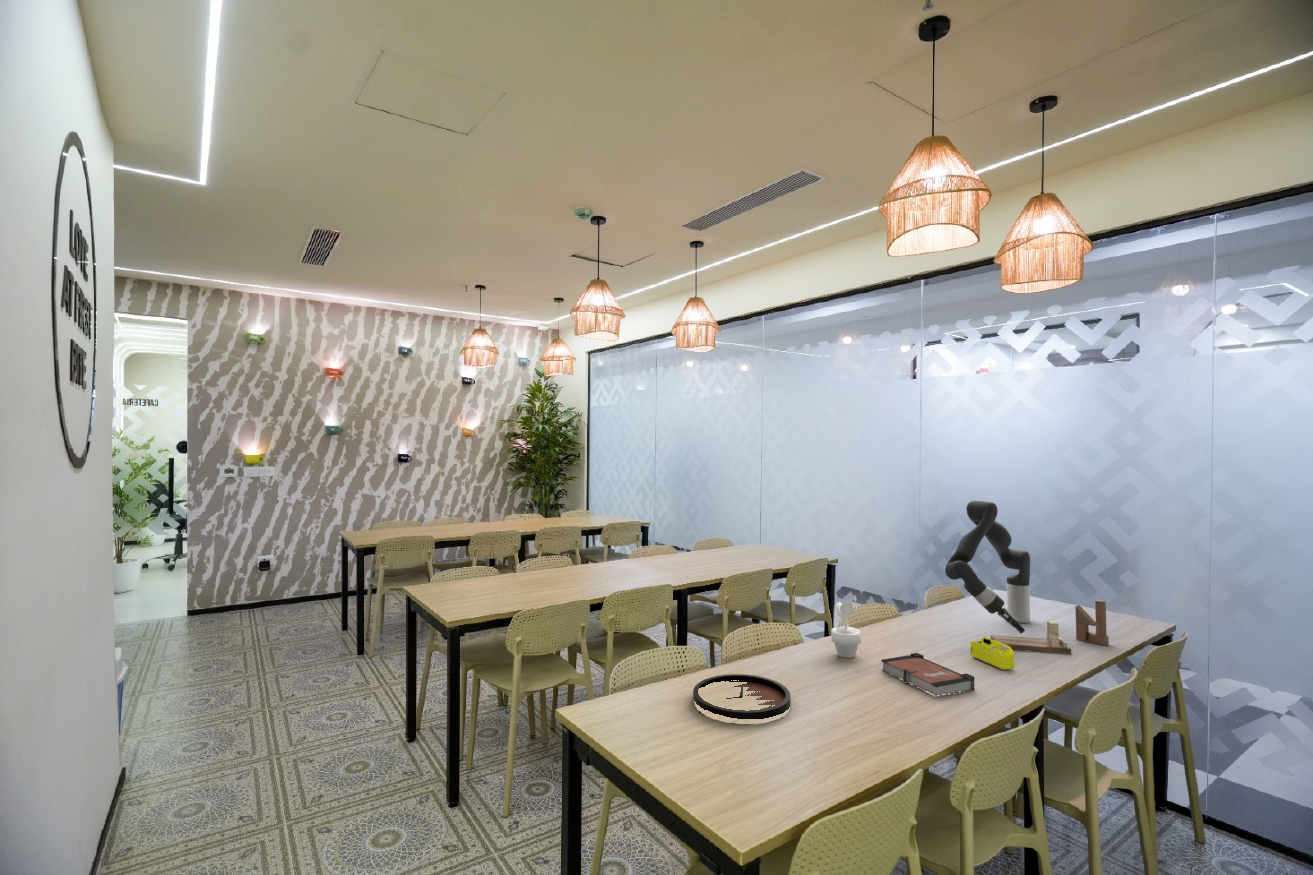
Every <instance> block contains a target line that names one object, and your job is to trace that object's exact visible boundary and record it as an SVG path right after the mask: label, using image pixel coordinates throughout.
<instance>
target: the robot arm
mask: <svg viewBox="0 0 1313 875" xmlns="http://www.w3.org/2000/svg"><path fill="white" fill-rule="evenodd" d="M998 511H999V510H998V507H997V504H996V503H995V502H993V501H986V500H984V501H983V500H971V501H970V502H968V503H967V505H966V515H967V517H968V518H969V520H970V521H971V522H972V523H973V524H974V525H976V526H975V527H974V528H973V529H972V530H970V531H969V532H968V533H966V534H965V535H964V536H963V537H962V538H961V539H960V541H959V542H958V545H957V547H956V549H955V552H954V554H952V556H951V557H950V559H949V560H948V561H947V563H946V565H945V569H944V570H945V571H944V572H945V575H946V577H947V578H949V579H950V580H953V581H954V580H959V579H961V580H962V581H963V582H964V584H963V588H964V589H965V590H966V591H967V592H968V593H969V594H970V595H971V596H972V597H973V598H974V599H975V601H977V603H979V604H980V606H982V607H983V608H984V609H985V610H986V611H987V612H988V613H989V614H991V615H992V614H996V615H998V616H999V617H1000V619H1003V620H1004V621H1005V622H1006V623H1007V624H1009V625H1011V627H1013V628H1014V629H1016V630H1017V631H1018V632H1019V633H1020V634H1023V633H1025V632H1026V629H1025V628H1024V627H1023V626H1022V625H1021V623H1022V624H1023V623H1025V624H1027V623H1031V602H1030V600H1031V597H1030V596H1031V595H1030V594H1031V592H1030V579H1031V578H1030V577H1031V556H1030V553H1029V552H1028V551H1027V550H1020V549H1013V548H1009V547H1010V546H1011V544H1012V535H1011V534H1010V532H1009V531H1008V530H1007V528H1006V527H1005V526H1004V525H1002V523H999V522H998V521H996V519H997V516H998ZM984 537H985V538H986V539H987V541H988V542H989V543H990V545H991V546H992V547H993V548H994V550H995V551H996V553H997V555H998V556H999V560H1000V561H1001V563H1002V564H1003V565H1004V567H1005V568H1008V569H1009V570H1010V569H1012V570H1016V571H1017V570H1018V574H1014V575H1010V576H1007V577H1006V601H1007V602H1006V603H1007V604H1006V605H1007V608H1005V607H1003V606H1005V601H1004V600H1003V599H1002V598H1001V597H1000V596H999V595H998V594H997V593H996V592H995V591H994V590H993V589H991V588H990V587H989V586H988V585H986V584H985V583H984V582H983V581H982V580H981V579H980V578H979V577H978V575H977V574H976V572H975V571H974V570H973V568H972V567H971V565H970V564H969V563H970V562H972V560H973V559H974V557H975V554H976V551H977V550H978V547H979V545H980V543H981V542H982V540H983V538H984ZM1019 623H1020V624H1019Z"/></svg>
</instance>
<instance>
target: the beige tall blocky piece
mask: <svg viewBox="0 0 1313 875" xmlns="http://www.w3.org/2000/svg"><path fill="white" fill-rule="evenodd" d="M1059 630H1060V629H1059V623H1058V622H1057V621H1055V620H1054V621H1053V620H1047V621H1046V639H1047V643H1048V644H1049V645H1050V646H1052V647H1059V638H1060V637H1059Z"/></svg>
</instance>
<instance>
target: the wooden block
mask: <svg viewBox="0 0 1313 875" xmlns="http://www.w3.org/2000/svg"><path fill="white" fill-rule="evenodd" d="M1094 603H1095V604H1094V605H1095V606H1094V607H1095V611H1094V612H1095V619H1094V618H1092V617H1091V616H1090V614H1089V613H1087V611H1086V610H1085V609H1084V608H1083V607H1082V606H1081V605H1080V604H1079V605H1075V606H1074V607H1075V608H1074V609H1075V630H1076V631H1075V639H1076V640H1078V641H1083V642H1086V641H1088V642H1089V643H1091V644H1096V645H1100V646H1107V645H1109V642H1110V641H1109V640H1110V639H1109V635H1108V634H1107V602H1106V601H1105V600H1103V599H1095V601H1094ZM1089 626H1091V627H1095V632H1093V631H1089V629H1090V628H1089Z"/></svg>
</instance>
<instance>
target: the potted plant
mask: <svg viewBox="0 0 1313 875" xmlns="http://www.w3.org/2000/svg"><path fill="white" fill-rule="evenodd" d="M854 594H855V593H854ZM853 599H854V601H855V604H856V602H857V600H858V599H857V596H856V594H855V595H854V597H853ZM859 606H860V608H862V603H860V605H859ZM835 608H836V611H837V615H838V617H840V618H843V619H844V621H843V622H844V625H843V626H836V627H832V628H831V629H830V630H831V631H830V632H831V634H830V635H831V640H830V641H831V642H833V644H834V646H835V650H836V652H837V655H838V656H839V657H841V658H844V657H845V658H846V659H851V658H853V657H855V656H856V654H857V651H858V647H859V645H860V644H862V633H861V632H862V630H859V629H857V628H855V627H851V626H849V617H851V616H852V614H853V612H854V608H853V601H844V602H843V603H842V602H840V601H839V602H837V603H835ZM857 608H858V607H857V605H855V609H857ZM845 658H844V659H845Z"/></svg>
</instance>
